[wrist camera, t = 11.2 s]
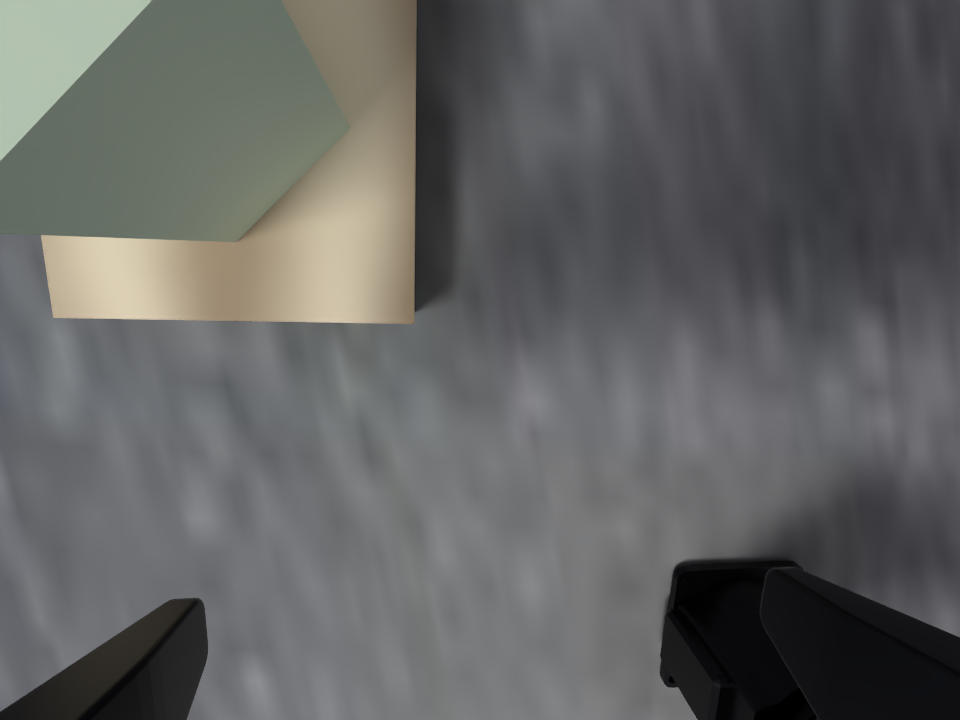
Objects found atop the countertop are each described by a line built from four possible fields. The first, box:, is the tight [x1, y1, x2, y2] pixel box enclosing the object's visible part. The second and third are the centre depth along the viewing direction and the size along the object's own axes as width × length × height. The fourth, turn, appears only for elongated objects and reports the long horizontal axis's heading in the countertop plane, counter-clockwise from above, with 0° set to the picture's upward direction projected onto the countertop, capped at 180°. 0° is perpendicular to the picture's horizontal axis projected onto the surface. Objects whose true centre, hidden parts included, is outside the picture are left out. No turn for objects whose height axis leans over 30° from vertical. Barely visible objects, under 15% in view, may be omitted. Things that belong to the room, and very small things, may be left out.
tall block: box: [0, 0, 350, 242], centre depth 10 cm, size 5×5×10 cm
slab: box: [41, 0, 417, 324], centre depth 16 cm, size 11×12×3 cm
